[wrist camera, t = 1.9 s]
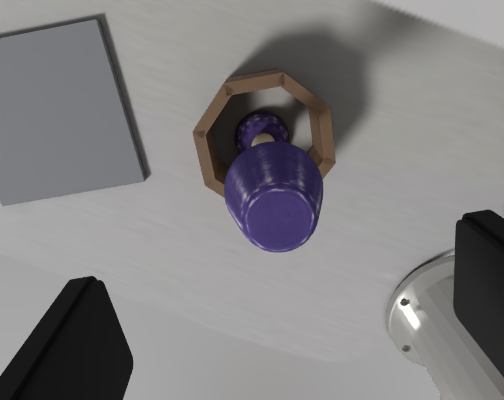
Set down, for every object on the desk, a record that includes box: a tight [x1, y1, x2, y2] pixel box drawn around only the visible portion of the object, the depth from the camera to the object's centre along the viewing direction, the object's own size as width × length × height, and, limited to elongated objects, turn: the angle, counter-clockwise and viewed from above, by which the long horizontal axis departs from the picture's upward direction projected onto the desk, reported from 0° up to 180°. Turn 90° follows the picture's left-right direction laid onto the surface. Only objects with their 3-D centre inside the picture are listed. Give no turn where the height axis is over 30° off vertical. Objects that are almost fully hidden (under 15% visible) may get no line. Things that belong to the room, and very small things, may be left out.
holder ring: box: [193, 69, 336, 198], centre depth 28 cm, size 9×9×4 cm
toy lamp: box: [224, 111, 323, 252], centre depth 22 cm, size 5×5×17 cm
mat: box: [0, 19, 146, 206], centre depth 29 cm, size 12×12×1 cm
